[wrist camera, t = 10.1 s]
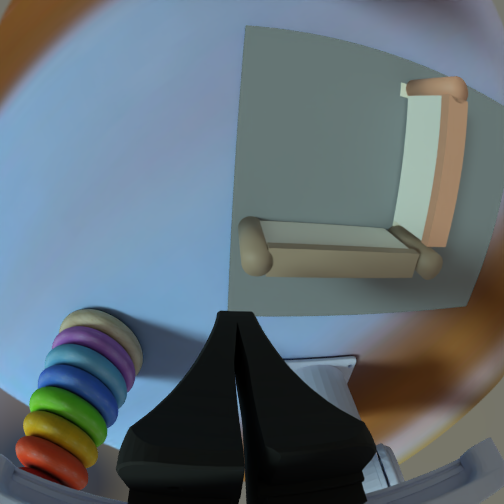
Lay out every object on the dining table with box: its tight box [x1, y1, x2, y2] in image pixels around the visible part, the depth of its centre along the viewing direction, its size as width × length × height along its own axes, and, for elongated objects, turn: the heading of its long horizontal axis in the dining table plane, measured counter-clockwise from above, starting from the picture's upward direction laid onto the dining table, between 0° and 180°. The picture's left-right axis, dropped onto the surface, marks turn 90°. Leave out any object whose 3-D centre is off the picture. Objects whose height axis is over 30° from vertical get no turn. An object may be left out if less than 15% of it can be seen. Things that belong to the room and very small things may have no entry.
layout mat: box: [228, 25, 504, 316], centre depth 19 cm, size 20×24×1 cm
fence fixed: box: [238, 216, 443, 280], centre depth 18 cm, size 2×12×5 cm, turn 86°
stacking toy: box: [16, 309, 143, 490], centre depth 15 cm, size 8×8×19 cm
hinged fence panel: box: [394, 76, 468, 247], centre depth 16 cm, size 10×2×5 cm, turn 178°
